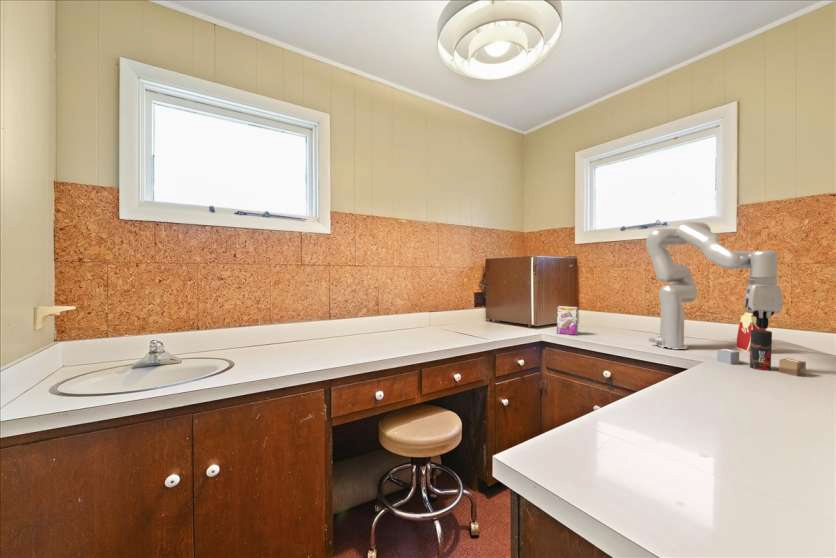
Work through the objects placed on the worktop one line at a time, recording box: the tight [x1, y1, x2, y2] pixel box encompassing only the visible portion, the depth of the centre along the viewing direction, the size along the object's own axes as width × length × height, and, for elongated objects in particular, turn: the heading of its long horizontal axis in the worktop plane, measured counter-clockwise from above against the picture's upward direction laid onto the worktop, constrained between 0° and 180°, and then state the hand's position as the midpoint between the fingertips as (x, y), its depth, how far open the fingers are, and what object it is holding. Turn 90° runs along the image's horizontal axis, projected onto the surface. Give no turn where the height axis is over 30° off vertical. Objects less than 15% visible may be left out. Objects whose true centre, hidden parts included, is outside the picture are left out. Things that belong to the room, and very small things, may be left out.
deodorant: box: [749, 330, 773, 372], centre depth 135 cm, size 6×6×15 cm
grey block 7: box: [716, 348, 740, 365], centre depth 143 cm, size 5×5×5 cm
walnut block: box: [778, 357, 807, 377], centre depth 128 cm, size 5×5×5 cm
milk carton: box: [735, 310, 768, 353], centre depth 161 cm, size 9×9×20 cm
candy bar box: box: [556, 305, 579, 336], centre depth 203 cm, size 11×5×16 cm, turn 58°
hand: (762, 327), depth 134 cm, fingers closed
